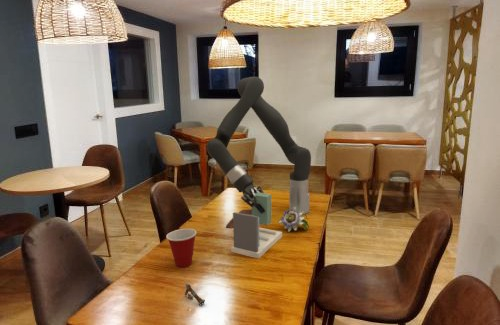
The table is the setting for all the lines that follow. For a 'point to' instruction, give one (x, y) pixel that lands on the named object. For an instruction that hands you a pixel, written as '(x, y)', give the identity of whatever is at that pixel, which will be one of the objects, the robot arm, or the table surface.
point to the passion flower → (293, 219)
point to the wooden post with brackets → (193, 294)
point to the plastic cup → (182, 246)
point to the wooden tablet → (249, 212)
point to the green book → (266, 204)
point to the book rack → (252, 236)
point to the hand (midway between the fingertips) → (265, 210)
